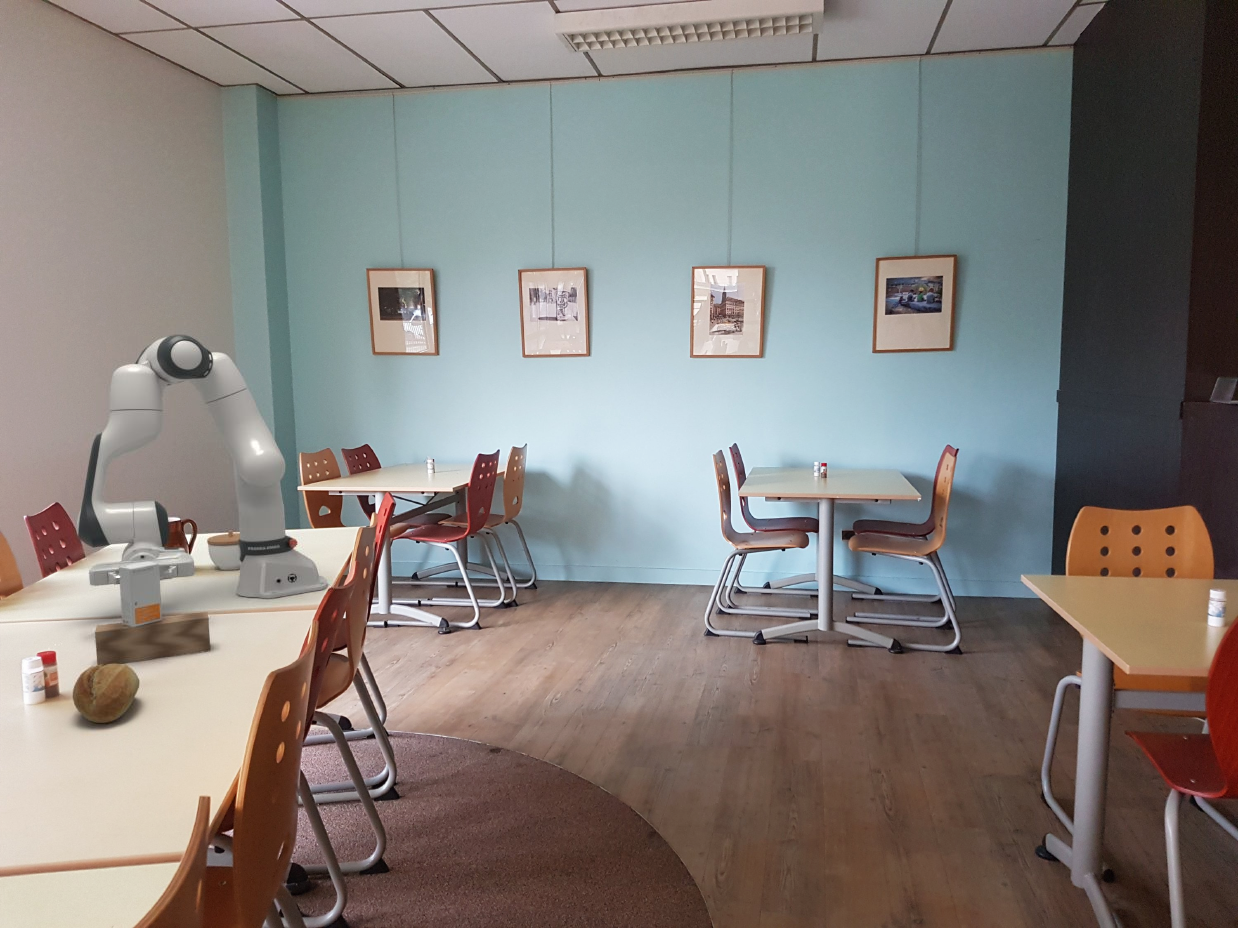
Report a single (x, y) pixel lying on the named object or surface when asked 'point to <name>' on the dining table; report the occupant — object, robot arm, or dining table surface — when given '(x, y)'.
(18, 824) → the dining table surface
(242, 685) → the dining table surface
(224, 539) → the lidded bowl
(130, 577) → the skincare box
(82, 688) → the bread roll
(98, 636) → the ridge
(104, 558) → the dining table surface
